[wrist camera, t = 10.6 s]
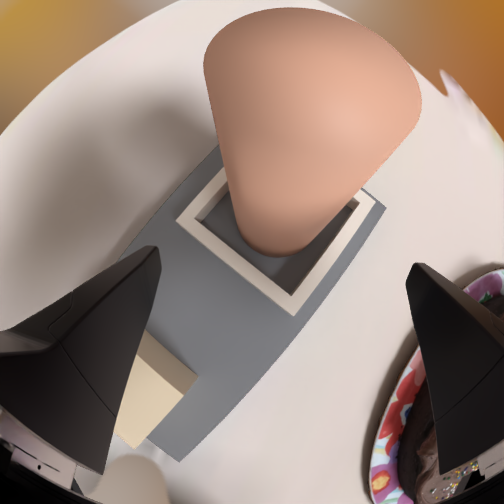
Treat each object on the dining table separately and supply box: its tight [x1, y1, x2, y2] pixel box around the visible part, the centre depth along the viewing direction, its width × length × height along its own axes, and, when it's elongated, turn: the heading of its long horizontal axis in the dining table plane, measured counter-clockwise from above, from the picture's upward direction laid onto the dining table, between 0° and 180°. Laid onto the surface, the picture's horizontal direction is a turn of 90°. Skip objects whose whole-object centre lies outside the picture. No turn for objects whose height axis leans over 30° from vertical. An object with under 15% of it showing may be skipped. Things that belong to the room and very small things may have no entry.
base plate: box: [113, 145, 386, 462], centre depth 16 cm, size 12×23×6 cm, turn 141°
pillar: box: [203, 8, 422, 258], centre depth 12 cm, size 5×5×13 cm
